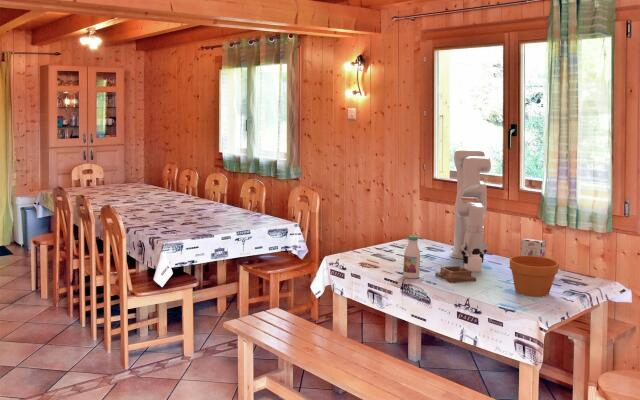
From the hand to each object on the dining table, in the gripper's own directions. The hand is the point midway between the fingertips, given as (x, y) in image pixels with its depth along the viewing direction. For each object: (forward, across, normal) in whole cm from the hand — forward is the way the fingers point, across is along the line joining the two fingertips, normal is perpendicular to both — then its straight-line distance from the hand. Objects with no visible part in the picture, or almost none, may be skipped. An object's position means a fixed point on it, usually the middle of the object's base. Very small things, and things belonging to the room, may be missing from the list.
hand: (473, 262), depth 328 cm
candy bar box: (+4, -29, +10) cm, 31 cm away
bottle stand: (+4, +18, +12) cm, 22 cm away
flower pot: (+4, -2, +43) cm, 43 cm away
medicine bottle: (+4, 0, 0) cm, 4 cm away
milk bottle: (+4, +38, +4) cm, 38 cm away
